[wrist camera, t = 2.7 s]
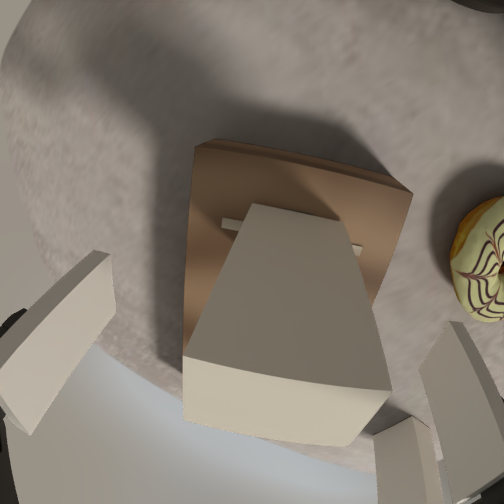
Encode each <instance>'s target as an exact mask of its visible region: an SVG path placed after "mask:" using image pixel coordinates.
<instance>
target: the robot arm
mask: <svg viewBox="0 0 504 504" xmlns="http://www.w3.org/2000/svg"><path fill="white" fill-rule="evenodd" d="M452 1H454V2H456V3H458V4H461V5H463V6H466V7H468V8H471V9H474V10H478V11H482V12H487V13H504V0H452ZM115 313H116V305H115V297H114V288H113V279H112V268H111V256H110V254H108V253H104V252H100V251H96V250H93V251H92V252H91V253H90V254H89V255H87V256H86V257H85V258H84V259H83V260H82V261H81V262H79V263H78V264H77V265H76V266H75V267H74V268H72V269H71V270H70V271H69V272H68V273H67V274H66V275H65V276H63V277H62V278H61V279H60V280H59V281H58V282H57V283H56V284H55V285H54V286H53V287H51V289H49V290H48V291H47V292H46V293H45V294H44V295H43V296H42V297H41V298H40V299H39V300H38V301H37V302H36V303H35V304H34V305H33V306H31V307H30V308H29V309H28V310H26V309H24V308H23V309H21V310H20V311H18V312H16V313H14V314H12V315H11V316H10V317H9V318H8V319H7V320H6V321H5V322H4V323H3V324H2V326H1V327H0V504H19V502H18V497H17V493H16V490H15V485H14V480H13V475H12V470H11V465H10V458H9V452H8V445H7V437H6V427H5V424H4V421H3V418H4V417H5V415H7V417H8V418H9V419H10V420H11V422H12V423H13V424H14V425H15V426H17V427H18V428H20V429H21V430H22V431H24V432H26V433H27V434H29V435H30V436H31V434H32V433H33V431H34V429H35V428H36V426H37V425H38V423H39V421H40V420H41V418H42V417H43V415H44V414H45V412H46V410H47V409H48V407H49V406H50V404H51V403H52V401H53V400H54V398H55V397H56V395H57V394H58V392H59V391H60V389H61V388H62V386H63V385H64V383H65V382H66V380H67V379H68V377H69V376H70V375H71V373H72V372H73V370H74V369H75V368H76V366H77V364H78V363H79V362H80V360H81V359H82V358H83V356H84V355H85V353H86V352H87V351H88V349H89V348H90V346H91V345H92V344H93V342H94V341H95V340H96V338H97V337H98V336H99V334H100V333H101V332H102V330H103V329H104V328H105V326H106V325H107V324H108V322H109V321H110V320H111V318H112V317H113V316H114V314H115ZM419 372H420V375H421V378H422V381H423V384H424V388H425V391H426V394H427V397H428V401H429V404H430V407H431V411H432V414H433V418H434V421H435V425H436V429H437V433H438V437H439V441H440V445H441V449H442V453H443V457H444V462H445V466H446V471H447V476H448V481H449V486H450V492H451V498H452V504H459V503H462V502H466V501H469V500H470V499H472V498H473V497H475V496H477V495H478V494H480V493H481V498H480V499H478V500H477V501H475V502H473V503H472V504H504V399H503V398H502V397H501V396H500V394H499V392H498V389H497V387H496V385H495V383H494V381H493V379H492V377H491V375H490V373H489V371H488V369H487V367H486V365H485V363H484V361H483V359H482V357H481V355H480V353H479V351H478V349H477V348H476V346H475V344H474V342H473V340H472V339H471V337H470V335H469V333H468V331H467V330H466V328H465V326H464V325H463V323H461V322H454V321H448V323H447V325H446V327H445V328H444V330H443V332H442V333H441V335H440V337H439V338H438V340H437V342H436V343H435V345H434V347H433V348H432V350H431V351H430V353H429V354H428V356H427V357H426V359H425V361H424V362H423V364H422V365H421V366H420V368H419Z"/></svg>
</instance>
